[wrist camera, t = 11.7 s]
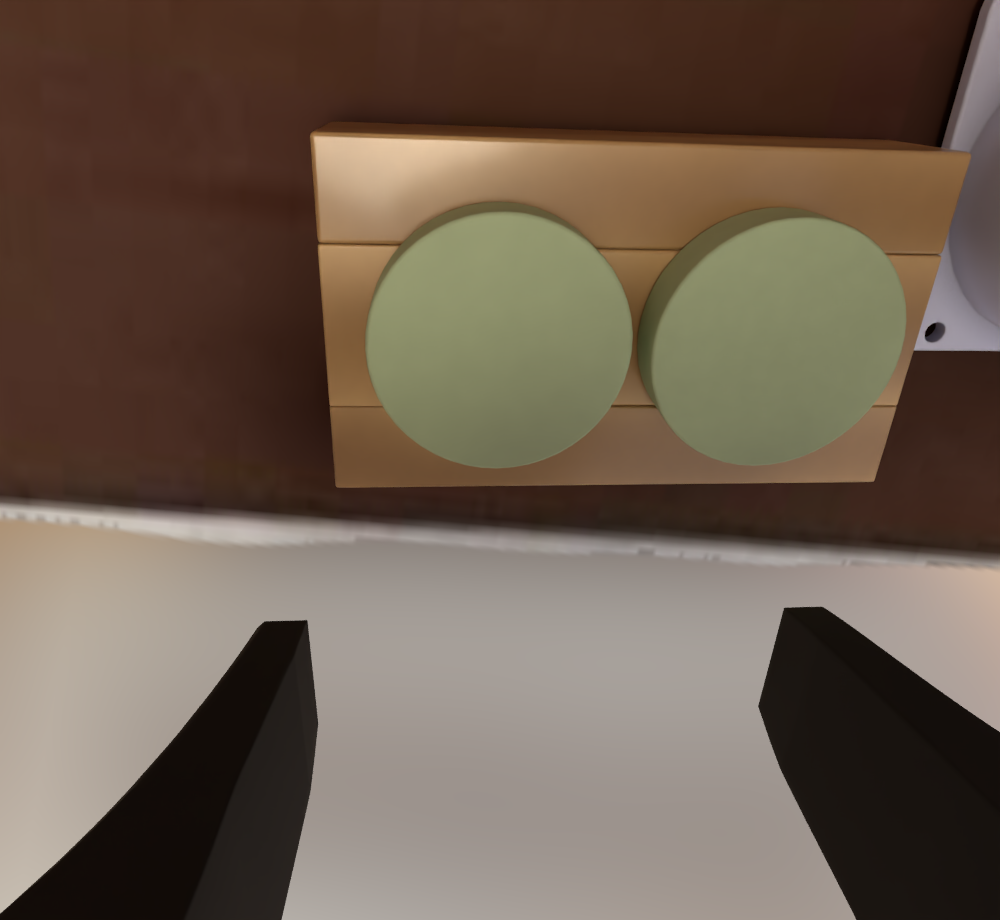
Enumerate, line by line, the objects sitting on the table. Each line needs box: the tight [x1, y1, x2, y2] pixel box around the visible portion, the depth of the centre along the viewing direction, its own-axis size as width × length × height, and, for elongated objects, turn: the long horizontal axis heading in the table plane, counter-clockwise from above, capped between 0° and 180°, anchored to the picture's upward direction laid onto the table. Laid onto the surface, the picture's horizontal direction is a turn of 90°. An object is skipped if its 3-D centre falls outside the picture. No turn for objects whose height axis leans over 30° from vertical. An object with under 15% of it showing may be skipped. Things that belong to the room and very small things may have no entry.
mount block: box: [310, 121, 971, 488], centre depth 17 cm, size 7×13×3 cm, turn 88°
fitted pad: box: [637, 207, 906, 466], centre depth 17 cm, size 5×5×4 cm
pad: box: [365, 202, 633, 468], centre depth 16 cm, size 5×5×4 cm
